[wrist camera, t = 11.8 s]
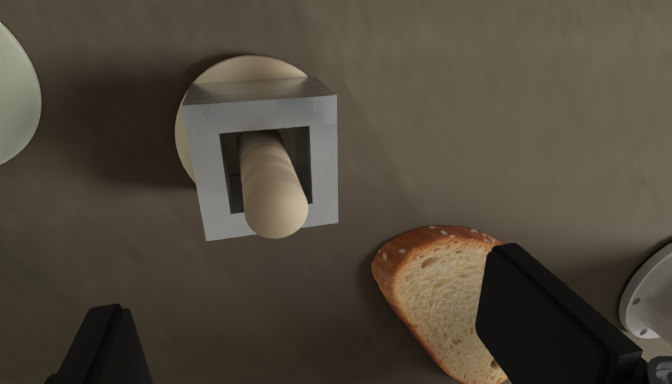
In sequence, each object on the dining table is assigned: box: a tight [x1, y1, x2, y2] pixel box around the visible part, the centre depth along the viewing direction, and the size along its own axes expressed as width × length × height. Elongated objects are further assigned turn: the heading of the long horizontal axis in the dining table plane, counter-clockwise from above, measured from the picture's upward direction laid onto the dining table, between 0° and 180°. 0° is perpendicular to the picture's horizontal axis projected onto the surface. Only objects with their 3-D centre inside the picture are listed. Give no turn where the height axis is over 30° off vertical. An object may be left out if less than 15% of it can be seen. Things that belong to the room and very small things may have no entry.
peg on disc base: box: [175, 55, 308, 239], centre depth 19 cm, size 9×9×10 cm
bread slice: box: [371, 225, 508, 384], centre depth 34 cm, size 18×18×4 cm
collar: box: [182, 77, 338, 241], centre depth 21 cm, size 7×7×5 cm
